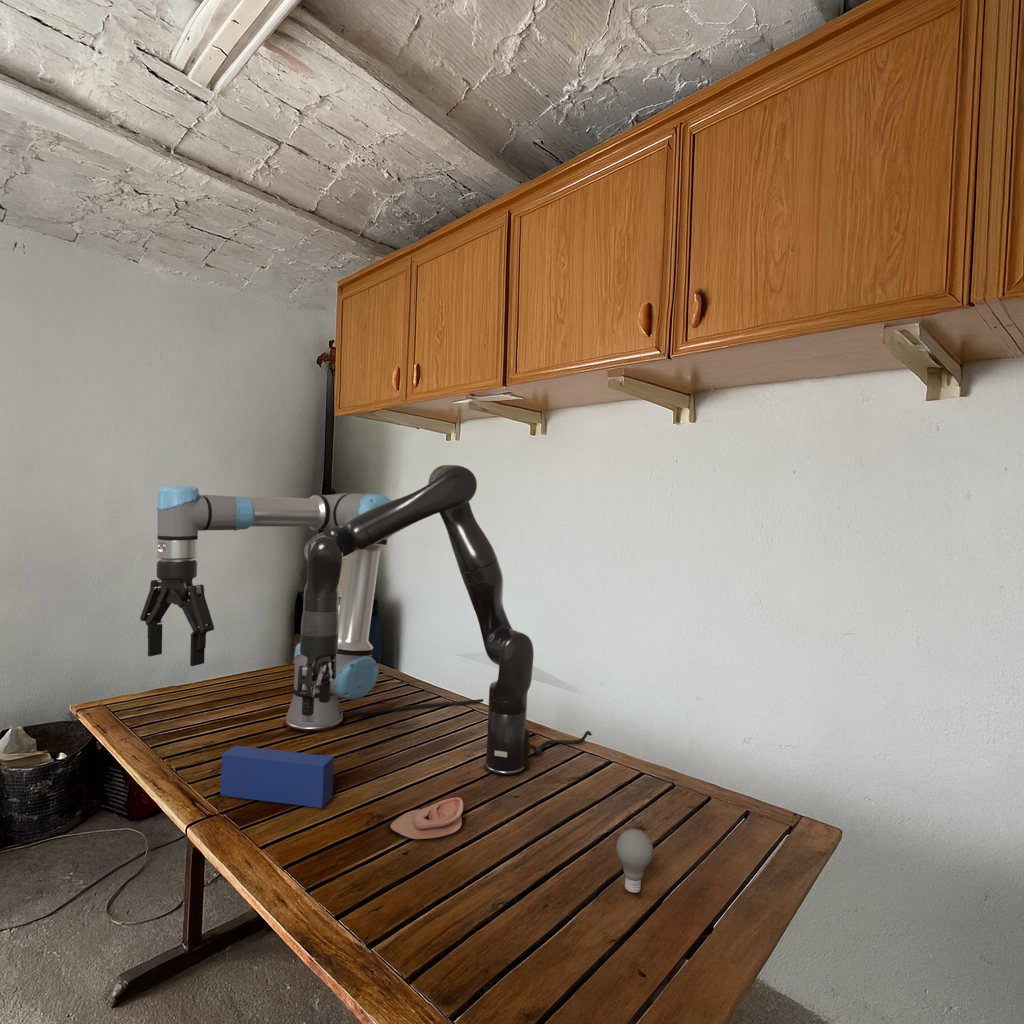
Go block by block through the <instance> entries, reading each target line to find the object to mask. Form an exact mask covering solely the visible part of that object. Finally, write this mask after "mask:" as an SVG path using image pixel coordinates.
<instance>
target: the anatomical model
mask: <svg viewBox="0 0 1024 1024" xmlns="http://www.w3.org/2000/svg"><path fill="white" fill-rule="evenodd" d="M463 812H464V801H463V799H462V797H450V798H446V799H443V800H440V801H438V802H435V803H433V804H430V805H428V806H426V807H424V808H421V809H413V810H410V811H408V812H405V813H404V814H402V815H400V816H398V817H397V818H395V819H394V820H393V821H392V822H391V824H390V829H391V830H392V831H394V832H395V833H397V834H399V835H401V836H403V837H405V838H409V839H412V840H425V839H427V840H428V839H435V838H441V837H445V836H448V835H452V834H453V833H456V832H457V831H459V830H460V829H461V827H462V825H463V819H462V814H463Z"/></svg>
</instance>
